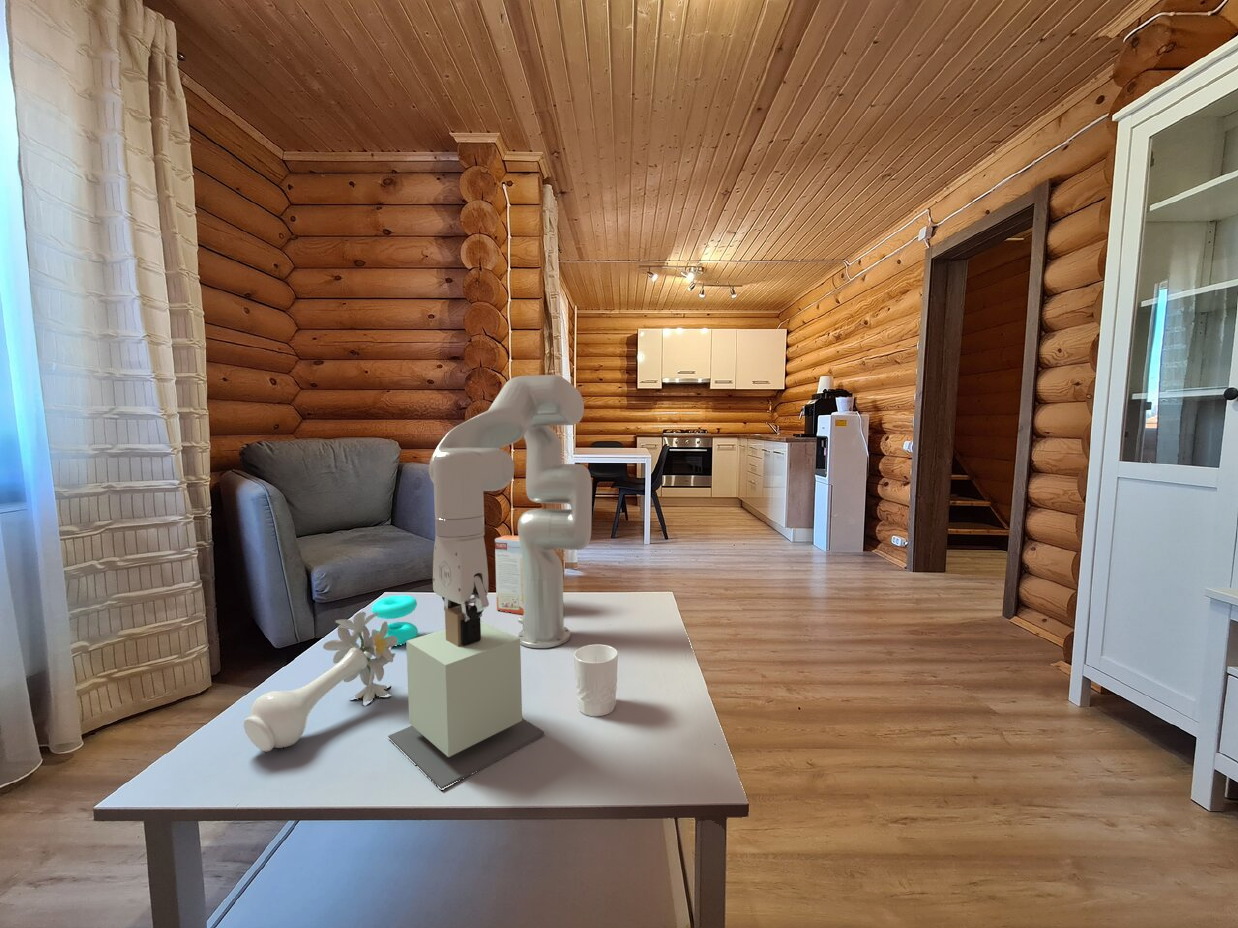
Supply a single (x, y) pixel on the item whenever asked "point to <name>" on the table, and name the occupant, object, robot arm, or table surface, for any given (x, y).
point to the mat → (463, 751)
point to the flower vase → (322, 684)
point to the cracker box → (509, 574)
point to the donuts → (397, 616)
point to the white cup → (596, 679)
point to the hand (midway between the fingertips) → (463, 637)
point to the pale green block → (463, 684)
